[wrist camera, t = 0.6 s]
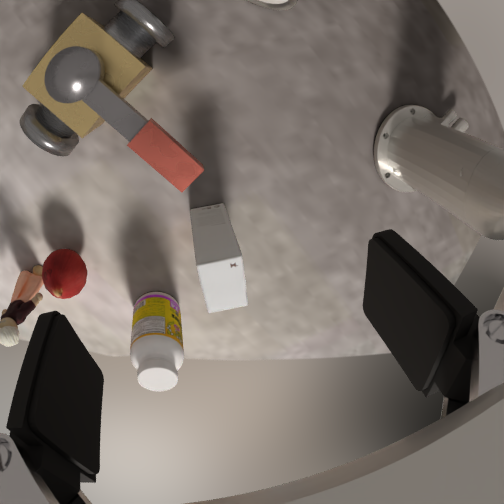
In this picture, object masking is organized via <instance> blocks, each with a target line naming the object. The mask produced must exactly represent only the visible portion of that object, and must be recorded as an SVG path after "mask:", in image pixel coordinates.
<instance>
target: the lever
mask: <svg viewBox="0 0 504 504" xmlns="http://www.w3.org/2000/svg"><path fill="white" fill-rule="evenodd" d="M104 74H105V66H104V62H103V60H102V58H101V57H100V55H99V54H98V53H97V52H95V51H94V50H91V49H88V48H84V47H80V46H72V47H68V48H65V49H63V50H61V51H60V52H58V53H57V54H56V55H55V56H54V57H53V58H52V59H51V61H50V62H49V64H48V66H47V68H46V71H45V78H44V81H45V87H46V90H47V92H48V94H49V95H50V96H51V97H52V98H53V99H54V100H56V101H58V102H60V103H74V102H77V101H81V100H82V101H83V102H84V103H86V104H87V105H88V106H89V107H90V108H91V109H92V110H94V111H95V112H96V113H97V114H98V115H99V116H101V117H102V118H103V119H104V120H105V121H106V122H108V123H109V124H110V125H111V126H112V127H113V128H114V129H116V130H117V131H118V132H119V133H120V134H121V135H123V136H124V137H125V138H126V139H127V140H128V141H129V143H128V145H127V146H129V147H130V148H131V149H132V150H133V151H134V152H135V153H137V154H138V155H139V156H140V157H141V158H142V159H144V160H145V161H146V162H147V163H148V164H149V165H151V166H152V167H153V168H154V169H155V170H156V171H158V172H159V173H160V174H161V175H162V176H163V177H165V178H166V179H167V180H168V181H169V182H170V183H171V184H173V185H174V186H175V187H176V188H177V189H178V190H180V191H181V192H183V191H184V190H185V189H186V188H187V187H188V186H189V185H190V184H191V183H192V182H193V181H194V180H195V179H196V178H197V177H198V176H199V175H200V174H201V173H202V172H203V171H204V167H203V164H201V163H200V162H199V161H198V160H197V159H196V158H195V157H194V156H193V155H192V154H191V153H190V152H188V151H187V150H186V149H185V148H184V147H183V146H182V145H181V144H180V143H179V142H177V141H176V140H175V139H174V138H173V137H172V136H171V135H170V134H169V133H168V132H166V131H165V130H164V129H163V128H162V127H161V126H160V125H159V124H158V123H156V122H155V121H154V120H153V119H152V118H151V119H150V120H149V121H148V120H147V119H146V118H145V117H144V116H142V115H141V114H140V113H139V112H138V111H137V110H136V109H135V108H133V107H132V106H131V105H130V104H129V103H128V102H127V101H125V100H124V99H123V98H122V97H121V96H120V95H119V94H117V93H116V92H115V91H114V90H113V89H112V88H111V87H109V86H108V85H107V84H106V83H105V82H104V81H103V79H104Z"/></svg>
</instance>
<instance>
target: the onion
mask: <svg viewBox="0 0 504 504" xmlns="http://www.w3.org/2000/svg"><path fill="white" fill-rule="evenodd" d="M86 278H87V269H86V265H85V263H84V261H83V260H82V258H81V257H80V256H79V255H78V254H77V253H76V252H75V251H72V250H70V249H58V250H56V251H54V252H52V253H51V254H50V255H49V256H48V257H47V259H46V260H45V261H44V264H43V268H42V279H43V282H44V285H45V288H46V289H47V290H48V291H49V292H50V293H51V294H52V295H53V296H55V297H57V298H61V299H66V298H71V297H73V296H75V295H77V294H79V293H80V291H81V290H82V288H83V287H84V285H85V284H86Z"/></svg>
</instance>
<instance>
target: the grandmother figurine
mask: <svg viewBox="0 0 504 504" xmlns="http://www.w3.org/2000/svg"><path fill="white" fill-rule="evenodd" d="M42 268H43V267H42V266H40V265H36V266H34V267H33V273H30V272H29V271H22V272H21V273H20V275H19V277H18V280H17V283H16V286H15V289H14V293H13V295H12V299H11V303H10V305H9V307H8V309H7V310H6V309H4V310H3V311H2V316H1V321H0V343H1V344H3V345H4V346H7V347H10V346H12V345H15V344H18V342H19V341H18V339H19V330H18V327H17V325H19V324H21V323H23V322H24V320H25V319H26V317H27V315H29V314H30V312H31V311H32V310H34V309H35V307H36V306H37V304H38V303H39V301H41V300H42V298H43V296H42V294H41V293H38V292H39V290H40V288H41V287H42V285H43V283H44V282H43V279H42Z"/></svg>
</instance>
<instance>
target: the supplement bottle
mask: <svg viewBox="0 0 504 504" xmlns="http://www.w3.org/2000/svg"><path fill="white" fill-rule="evenodd" d="M130 358H131V361H132V364H133V365H134V367H135V368H136V369H137V377H138V382H139V383H140V385H141V386H142V387H144V388H146V389H148V390H151V391H166V390H169V389H171V388H173V387H174V386H175V385H176V384H177V382H178V371H177V370H178V369H179V368H180V367H181V365H182V364H183V361H184V350H183V338H182V326H181V313H180V307H179V305H178V303H177V301H176V300H175V299H174V298H173V297H172V296H170V295H168V294H166V293H162V292H150V293H147V294H144V295H143V296H141V297H140V298H139V299H138V300H137V301H136V303H135V306H134V311H133V322H132V334H131V347H130Z"/></svg>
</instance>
